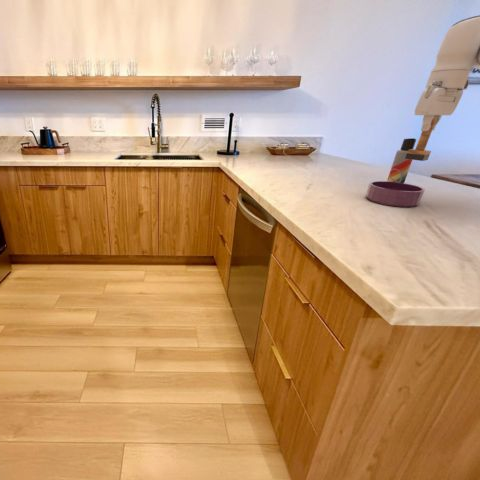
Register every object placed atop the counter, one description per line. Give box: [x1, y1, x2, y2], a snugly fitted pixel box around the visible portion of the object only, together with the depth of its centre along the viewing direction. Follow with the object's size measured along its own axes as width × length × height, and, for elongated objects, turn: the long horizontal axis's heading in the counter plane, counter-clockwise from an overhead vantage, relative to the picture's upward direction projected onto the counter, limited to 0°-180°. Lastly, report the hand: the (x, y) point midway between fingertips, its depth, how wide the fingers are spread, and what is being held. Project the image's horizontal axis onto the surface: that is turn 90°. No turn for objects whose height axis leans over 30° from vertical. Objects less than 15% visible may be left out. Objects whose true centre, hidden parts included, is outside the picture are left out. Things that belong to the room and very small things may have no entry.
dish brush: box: [405, 118, 437, 162], centre depth 94 cm, size 5×4×13 cm
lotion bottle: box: [386, 137, 417, 183], centre depth 115 cm, size 6×6×20 cm
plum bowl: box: [365, 180, 425, 208], centre depth 102 cm, size 15×15×6 cm
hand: (427, 130), depth 93 cm, fingers closed on dish brush, 2 cm apart
